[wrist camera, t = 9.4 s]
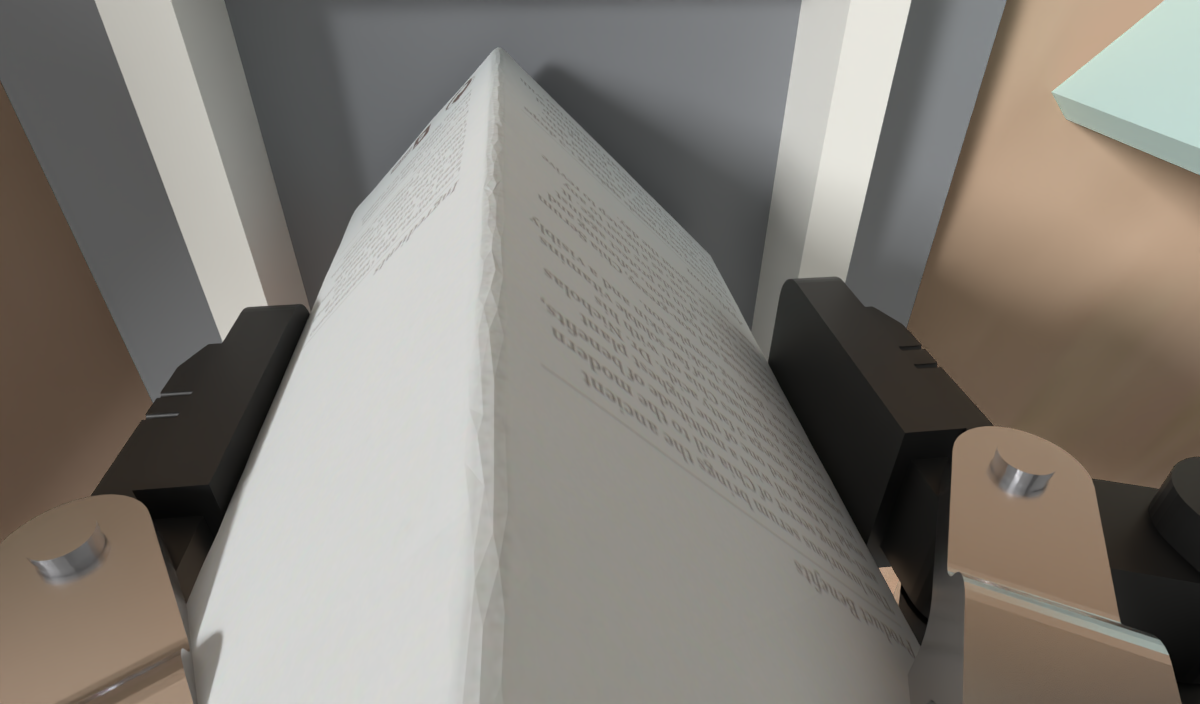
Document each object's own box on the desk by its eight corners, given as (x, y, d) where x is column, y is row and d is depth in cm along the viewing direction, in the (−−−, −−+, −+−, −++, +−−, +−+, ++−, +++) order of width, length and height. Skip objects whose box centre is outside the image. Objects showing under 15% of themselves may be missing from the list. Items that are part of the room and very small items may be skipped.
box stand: (1011, -192, 12) (1164, -215, 9) (849, 407, 20) (906, 494, 17) (-68, -209, 11) (-278, -242, 8) (217, 455, 19) (164, 559, 16)
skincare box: (347, 212, 13) (-175, 1305, 3) (498, 36, 11) (456, 1010, 2) (577, 382, 16) (696, 1221, 6) (720, 258, 14) (1194, 1093, 4)
